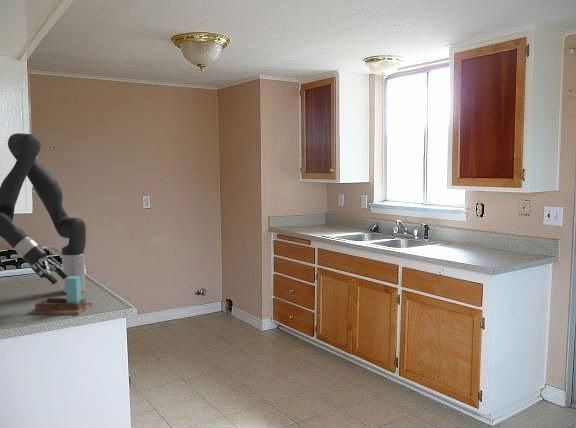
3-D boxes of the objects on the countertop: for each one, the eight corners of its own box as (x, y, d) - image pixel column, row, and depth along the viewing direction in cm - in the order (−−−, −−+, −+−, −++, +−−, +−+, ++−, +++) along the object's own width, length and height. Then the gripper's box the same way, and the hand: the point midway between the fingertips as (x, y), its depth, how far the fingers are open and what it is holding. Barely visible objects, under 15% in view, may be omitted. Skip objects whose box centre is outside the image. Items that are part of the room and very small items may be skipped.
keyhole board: (47, 304, 210) (47, 296, 210) (91, 305, 210) (91, 296, 210) (31, 314, 198) (31, 305, 197) (78, 314, 197) (77, 305, 197)
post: (71, 305, 206) (70, 276, 204) (81, 306, 206) (80, 276, 204) (67, 308, 202) (65, 278, 200) (77, 308, 202) (76, 278, 200)
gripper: (27, 247, 194) (59, 277, 195) (45, 241, 208) (75, 269, 209) (14, 261, 195) (45, 291, 196) (33, 254, 209) (62, 282, 210)
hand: (60, 280), depth 203 cm, fingers open, 8 cm apart
